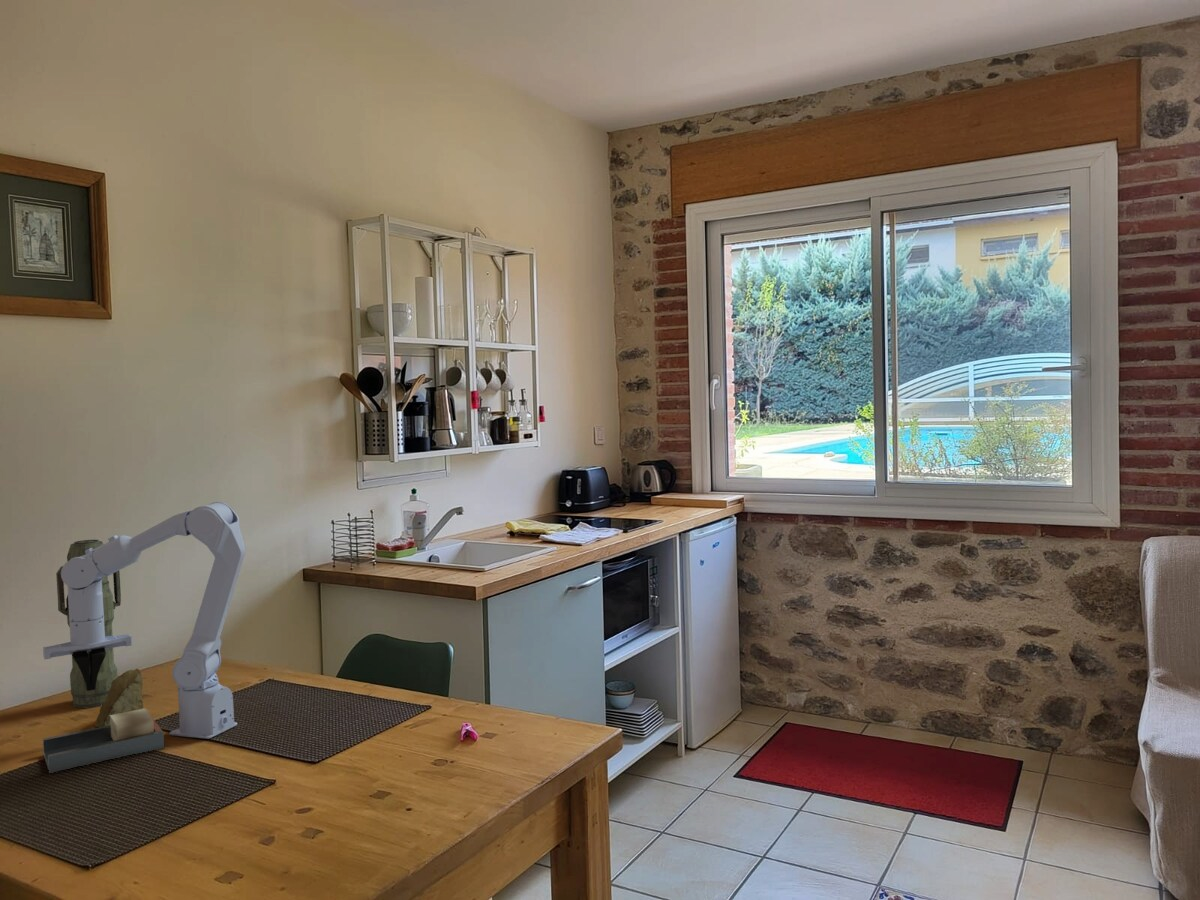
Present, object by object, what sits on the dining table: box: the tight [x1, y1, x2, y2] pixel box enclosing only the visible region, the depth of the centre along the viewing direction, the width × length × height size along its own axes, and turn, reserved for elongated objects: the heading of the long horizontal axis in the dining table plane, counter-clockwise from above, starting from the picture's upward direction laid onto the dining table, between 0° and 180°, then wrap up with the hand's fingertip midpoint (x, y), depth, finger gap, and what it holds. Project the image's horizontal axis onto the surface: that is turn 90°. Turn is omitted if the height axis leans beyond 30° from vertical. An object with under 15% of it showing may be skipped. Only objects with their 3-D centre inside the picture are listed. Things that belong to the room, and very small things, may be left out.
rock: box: [94, 668, 144, 728], centre depth 181 cm, size 11×9×10 cm
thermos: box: [55, 539, 122, 709], centre depth 193 cm, size 9×12×35 cm
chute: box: [42, 715, 165, 774], centre depth 163 cm, size 18×11×3 cm, turn 126°
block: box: [110, 707, 154, 741], centre depth 166 cm, size 6×8×4 cm
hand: (90, 689), depth 170 cm, fingers closed
